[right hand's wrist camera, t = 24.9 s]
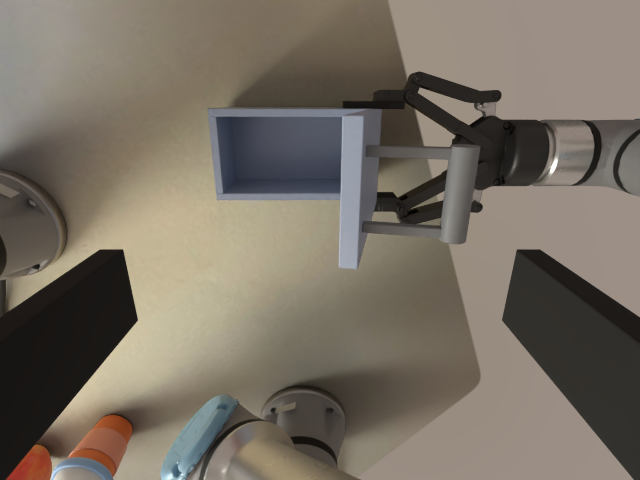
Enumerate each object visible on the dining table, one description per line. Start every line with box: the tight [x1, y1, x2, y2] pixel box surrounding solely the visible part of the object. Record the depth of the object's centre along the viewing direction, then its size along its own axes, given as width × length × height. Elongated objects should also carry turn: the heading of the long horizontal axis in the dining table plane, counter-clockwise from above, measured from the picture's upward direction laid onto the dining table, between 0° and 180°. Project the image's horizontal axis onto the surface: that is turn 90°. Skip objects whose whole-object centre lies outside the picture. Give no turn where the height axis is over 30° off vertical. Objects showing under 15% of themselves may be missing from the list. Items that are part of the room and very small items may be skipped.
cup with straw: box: [51, 415, 133, 480], centre depth 58 cm, size 9×9×18 cm
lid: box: [339, 109, 480, 269], centre depth 31 cm, size 18×10×8 cm
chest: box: [208, 107, 368, 200], centre depth 44 cm, size 18×10×9 cm, turn 90°
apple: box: [6, 444, 52, 480], centre depth 64 cm, size 10×10×10 cm
